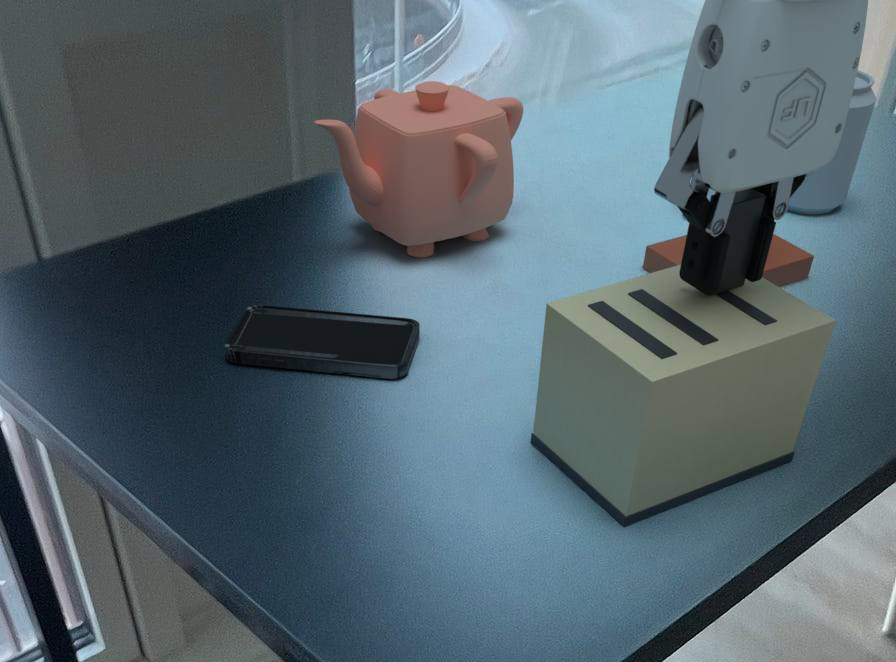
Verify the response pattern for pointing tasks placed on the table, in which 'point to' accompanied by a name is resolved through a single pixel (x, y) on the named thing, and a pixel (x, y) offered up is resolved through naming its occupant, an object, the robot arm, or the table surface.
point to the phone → (324, 341)
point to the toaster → (674, 388)
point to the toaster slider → (740, 237)
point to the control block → (779, 269)
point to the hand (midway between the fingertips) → (720, 277)
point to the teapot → (430, 163)
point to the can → (838, 157)
